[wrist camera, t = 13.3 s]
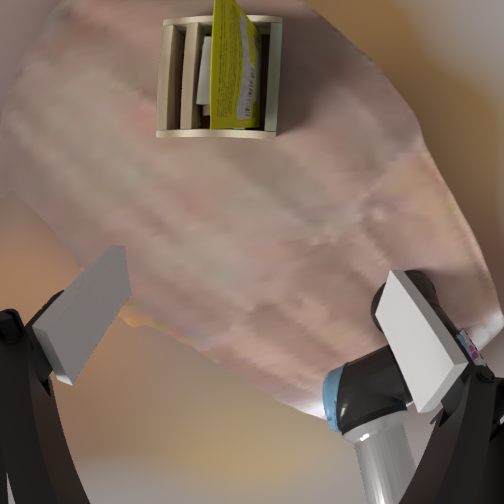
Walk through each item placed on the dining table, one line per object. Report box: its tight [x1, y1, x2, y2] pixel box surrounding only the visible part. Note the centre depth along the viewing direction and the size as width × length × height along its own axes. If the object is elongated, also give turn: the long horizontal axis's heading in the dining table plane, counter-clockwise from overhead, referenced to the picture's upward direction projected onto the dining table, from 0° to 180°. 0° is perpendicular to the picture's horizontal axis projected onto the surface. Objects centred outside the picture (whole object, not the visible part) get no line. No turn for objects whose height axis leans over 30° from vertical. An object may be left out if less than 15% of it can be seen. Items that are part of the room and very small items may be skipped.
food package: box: [210, 0, 262, 129], centre depth 27 cm, size 15×1×20 cm, turn 179°
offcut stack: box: [196, 37, 212, 116], centre depth 34 cm, size 5×12×6 cm, turn 177°
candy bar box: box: [459, 329, 488, 368], centre depth 52 cm, size 11×5×16 cm, turn 39°
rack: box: [156, 15, 283, 140], centre depth 34 cm, size 16×18×6 cm
